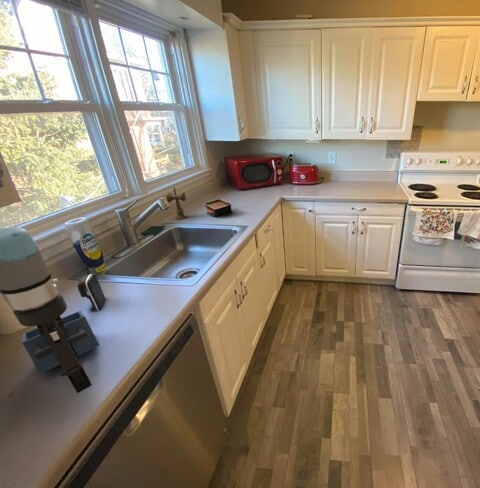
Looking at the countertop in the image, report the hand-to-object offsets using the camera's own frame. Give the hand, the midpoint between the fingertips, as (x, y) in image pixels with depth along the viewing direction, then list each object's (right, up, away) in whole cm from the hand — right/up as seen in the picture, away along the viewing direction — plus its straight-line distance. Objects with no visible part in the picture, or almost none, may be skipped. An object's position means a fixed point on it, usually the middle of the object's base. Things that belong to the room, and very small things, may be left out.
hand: (77, 372), depth 67 cm
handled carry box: (-6, +1, +5) cm, 8 cm away
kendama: (-30, +47, +107) cm, 120 cm away
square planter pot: (-8, +51, +114) cm, 125 cm away
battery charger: (-19, +9, +29) cm, 36 cm away
